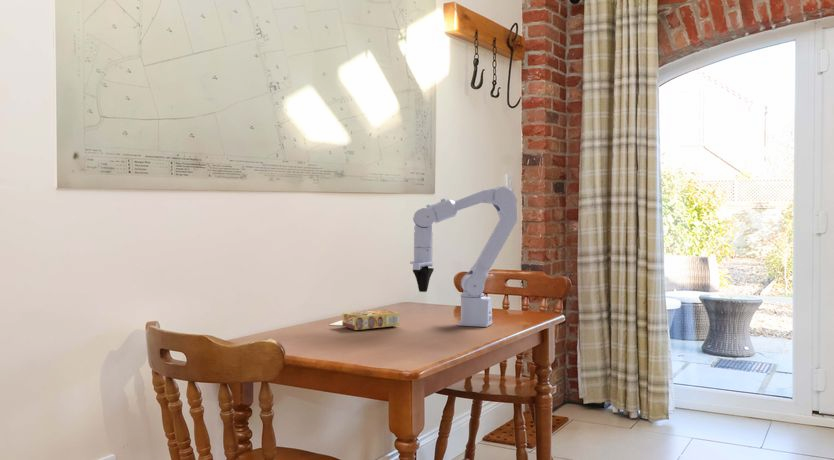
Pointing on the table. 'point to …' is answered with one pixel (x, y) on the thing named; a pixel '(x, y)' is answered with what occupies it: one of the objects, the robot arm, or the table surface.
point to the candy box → (371, 319)
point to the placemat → (337, 323)
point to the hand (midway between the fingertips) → (423, 291)
